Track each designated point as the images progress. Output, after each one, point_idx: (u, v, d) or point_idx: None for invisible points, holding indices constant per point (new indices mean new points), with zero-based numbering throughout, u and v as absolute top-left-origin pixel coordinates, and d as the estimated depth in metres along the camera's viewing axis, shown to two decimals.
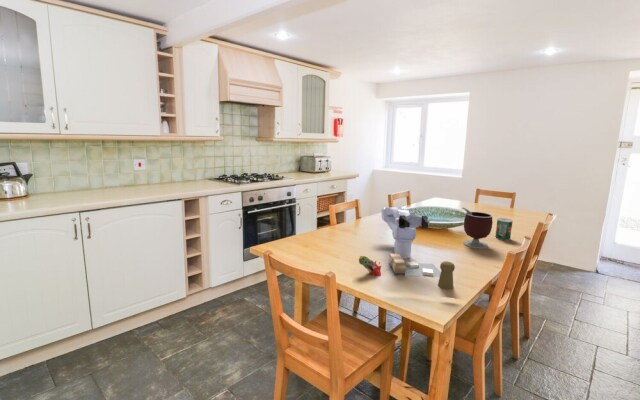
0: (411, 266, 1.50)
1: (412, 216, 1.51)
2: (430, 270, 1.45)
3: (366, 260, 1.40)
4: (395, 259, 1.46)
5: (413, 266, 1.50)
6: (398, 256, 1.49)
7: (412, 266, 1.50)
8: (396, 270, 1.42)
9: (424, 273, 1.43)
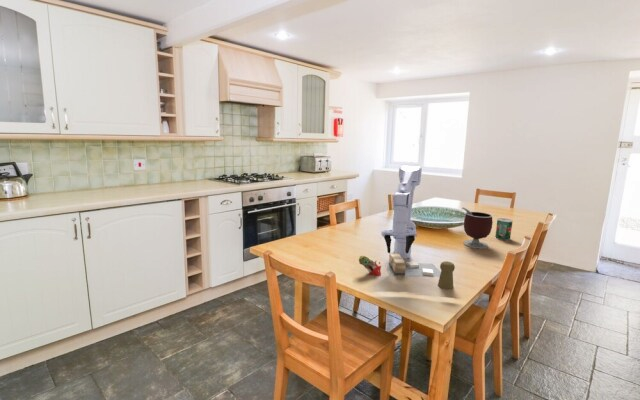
0: (411, 266, 1.50)
1: None
2: (430, 270, 1.45)
3: (366, 260, 1.40)
4: (395, 259, 1.46)
5: (413, 266, 1.50)
6: (398, 256, 1.49)
7: (412, 266, 1.50)
8: (396, 270, 1.42)
9: (424, 273, 1.43)
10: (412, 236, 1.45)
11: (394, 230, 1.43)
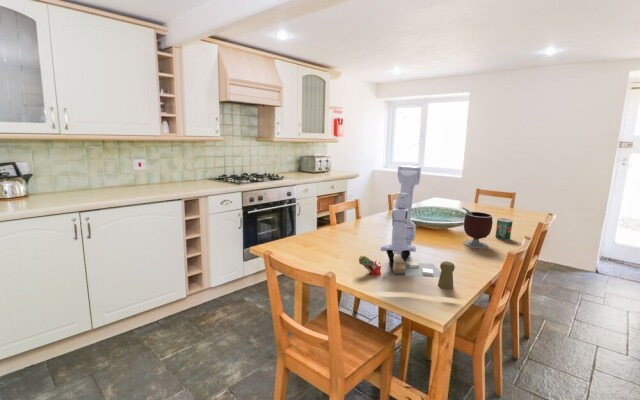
0: (411, 266, 1.50)
1: None
2: (430, 270, 1.45)
3: (366, 260, 1.40)
4: (395, 259, 1.46)
5: (413, 266, 1.50)
6: (398, 256, 1.49)
7: (412, 266, 1.50)
8: (396, 270, 1.42)
9: (424, 273, 1.43)
10: None
11: (393, 245, 1.45)
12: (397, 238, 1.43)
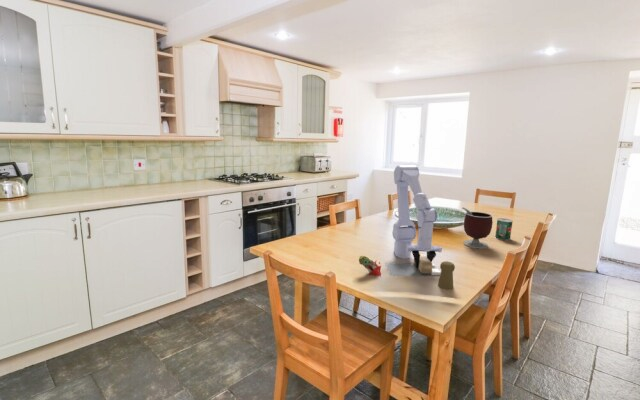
0: None
1: None
2: (436, 269, 1.45)
3: (366, 260, 1.40)
4: (421, 259, 1.46)
5: None
6: (424, 256, 1.50)
7: None
8: (423, 270, 1.42)
9: (432, 273, 1.43)
10: (437, 251, 1.46)
11: (419, 246, 1.45)
12: (423, 238, 1.43)
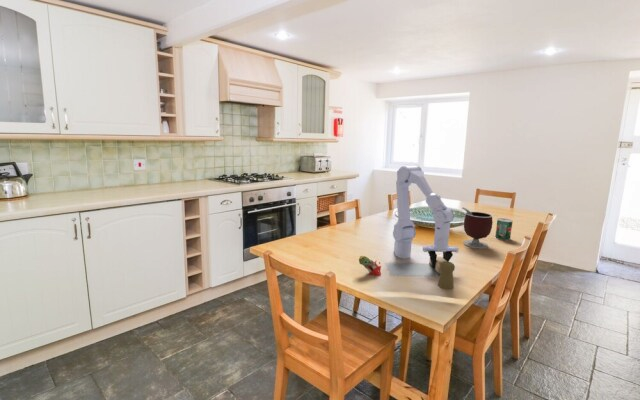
0: None
1: None
2: None
3: (366, 260, 1.40)
4: (438, 259, 1.46)
5: None
6: (440, 257, 1.50)
7: None
8: (440, 270, 1.43)
9: None
10: None
11: (436, 246, 1.45)
12: (440, 239, 1.43)
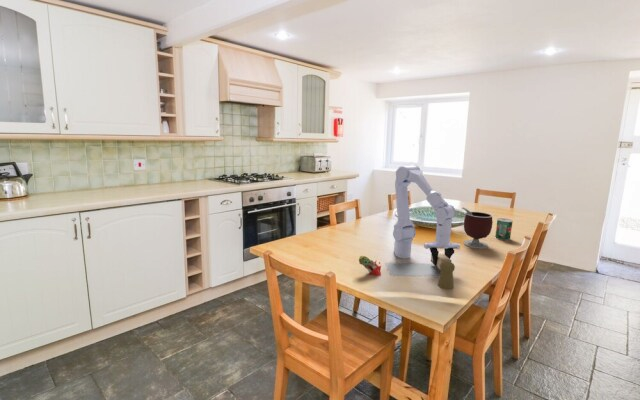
0: None
1: None
2: None
3: (366, 260, 1.40)
4: (440, 256, 1.46)
5: None
6: (442, 253, 1.50)
7: None
8: None
9: None
10: (455, 248, 1.46)
11: (438, 243, 1.45)
12: (442, 235, 1.43)
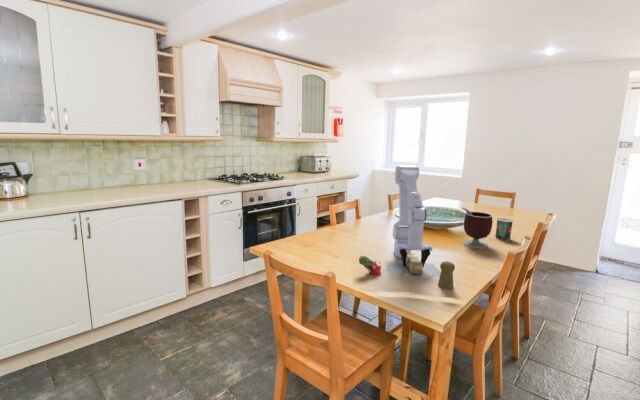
0: None
1: None
2: None
3: (366, 260, 1.40)
4: (412, 259, 1.46)
5: None
6: (414, 256, 1.49)
7: None
8: (413, 270, 1.42)
9: None
10: (427, 250, 1.46)
11: (410, 244, 1.45)
12: (414, 237, 1.43)
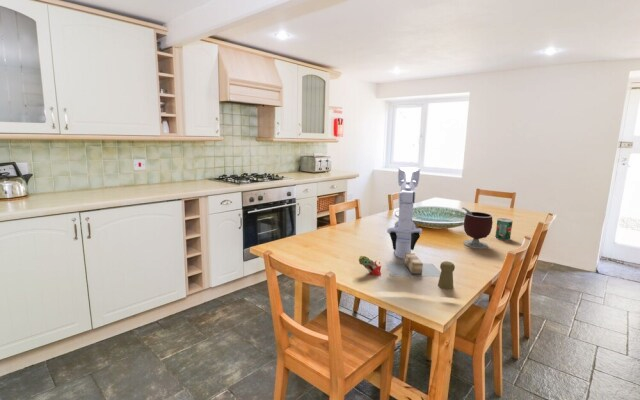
0: None
1: None
2: None
3: (366, 260, 1.40)
4: (412, 259, 1.46)
5: None
6: (414, 256, 1.49)
7: None
8: (413, 270, 1.42)
9: None
10: (417, 233, 1.48)
11: (400, 227, 1.46)
12: (404, 220, 1.45)
